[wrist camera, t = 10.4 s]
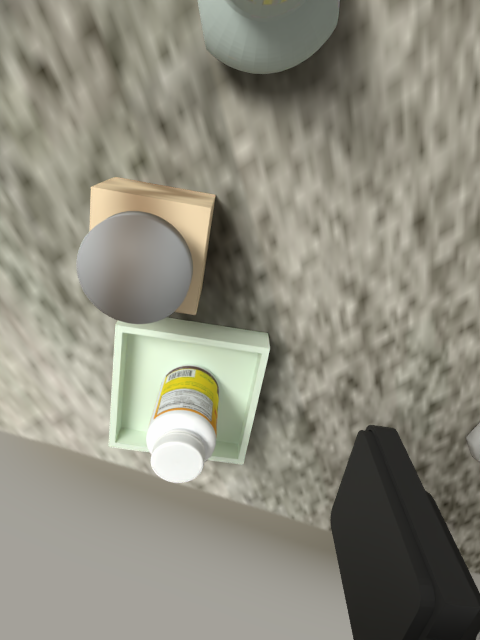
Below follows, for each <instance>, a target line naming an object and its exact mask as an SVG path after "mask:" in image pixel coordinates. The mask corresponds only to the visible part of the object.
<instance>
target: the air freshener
mask: <svg viewBox="0 0 480 640" xmlns="http://www.w3.org/2000/svg"><path fill="white" fill-rule="evenodd" d="M198 5H199V11H200V17H201V23H202V29H203V35H204V40H205V45H206V49H207V51H209V52H210V53H211V54H212V55H213V56H214V57H215V58H217V59H218V60H220V61H221V62H223V63H224V64H226V65H228V66H230V67H232V68H235V69H237V70H239V71H244V72H248V73H253V74H270V73H276V72H281V71H284V70H287V69H289V68H292V67H294V66H296V65H298V64H300V63H301V62H303V61H305V60H306V59H308V58H309V57H310V56H311V55H313V54H314V53H315V52H316V51H317V50H319V48H320V47H321V46H322V45H323V44H324V43H325V42H326V41H327V39H328V38H329V37H330V36H331V34H332V33H333V31H334V29H335V28H336V26H337V22H338V16H339V5H340V0H198Z"/></svg>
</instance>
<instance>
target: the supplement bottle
mask: <svg viewBox="0 0 480 640" xmlns="http://www.w3.org/2000/svg"><path fill="white" fill-rule="evenodd" d="M218 402H219V386H218V383H217V380H216V379H215V377H214V376H213V375H212V374H211V373H210V372H209V371H208V370H207V369H205V368H203V367H200V366H197V365H190V364H188V365H181V366H178V367H175V368H174V369H172V370H170V371H169V372H168V373H167V374H166V375H165V377H164V379H163V381H162V383H161V386H160V390H159V393H158V396H157V400H156V403H155V407H154V410H153V413H152V417H151V420H150V423H149V427H148V430H147V435H146V443H147V447H148V450H149V452H150V454H151V466H152V468H153V470H154V472H155V473H156V474H157V475H158V476H159V477H161V478H162V479H164V480H166V481H169V482H174V483H183V482H188V481H191V480H193V479H194V478H196V477H197V476H198V475H199V474H200V473H201V471H202V469H203V466H204V462H206V461H207V460H208V459H209V458H210V456H211V455H212V453H213V452H214V449H215V445H216V434H217V418H218Z"/></svg>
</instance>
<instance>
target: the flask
mask: <svg viewBox="0 0 480 640" xmlns="http://www.w3.org/2000/svg"><path fill="white" fill-rule="evenodd" d="M466 439H467V442H468V445H469V448H470V451H471V454H472V457H474V458H475V459H477V460H478V461H479V462H480V423H479V424H478V425H477V426H476V427H475V428H474V429H473V430H472V431H471V432H470V433H469V434H468V436H467V437H466Z"/></svg>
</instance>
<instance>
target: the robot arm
mask: <svg viewBox="0 0 480 640" xmlns="http://www.w3.org/2000/svg"><path fill="white" fill-rule="evenodd" d="M331 529H332V534H333V539H334V543H335V549H336V554H337V559H338V564H339V569H340V574H341V579H342V584H343V589H344V594H345V599H346V604H347V609H348V614H349V619H350V624H351V629H352V633H353V639H354V640H480V593H479V591H478V589H477V587H476V585H475V583H474V581H473V579H472V576H471V574H470V572H469V570H468V568H467V566H466V564H465V562H464V560H463V558H462V556H461V554H460V552H459V550H458V548H457V546H456V544H455V541H454V539H453V537H452V535H451V533H450V531H449V529H448V527H447V525H446V523H445V521H444V519H443V517H442V515H441V513H440V511H439V509H438V507H437V504H436V502H435V501H434V499H433V497H432V496H431V495H430V494H429V493H428V492H427V491H425V489H424V487H423V485H422V483H421V481H420V479H419V477H418V475H417V472H416V470H415V468H414V466H413V464H412V462H411V460H410V458H409V456H408V454H407V451H406V449H405V447H404V445H403V443H402V441H401V439H400V437H399V435H398V432H397V431H396V429H394V428H389V427H382V426H374V425H369V426H368V427H367V428H366V430H365V431H364V430H360V431H359V432H358V435H357V437H356V440H355V443H354V446H353V449H352V452H351V455H350V458H349V461H348V464H347V467H346V470H345V472H344V475H343V478H342V481H341V484H340V487H339V490H338V493H337V496H336V499H335V502H334V505H333V508H332V511H331Z"/></svg>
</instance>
